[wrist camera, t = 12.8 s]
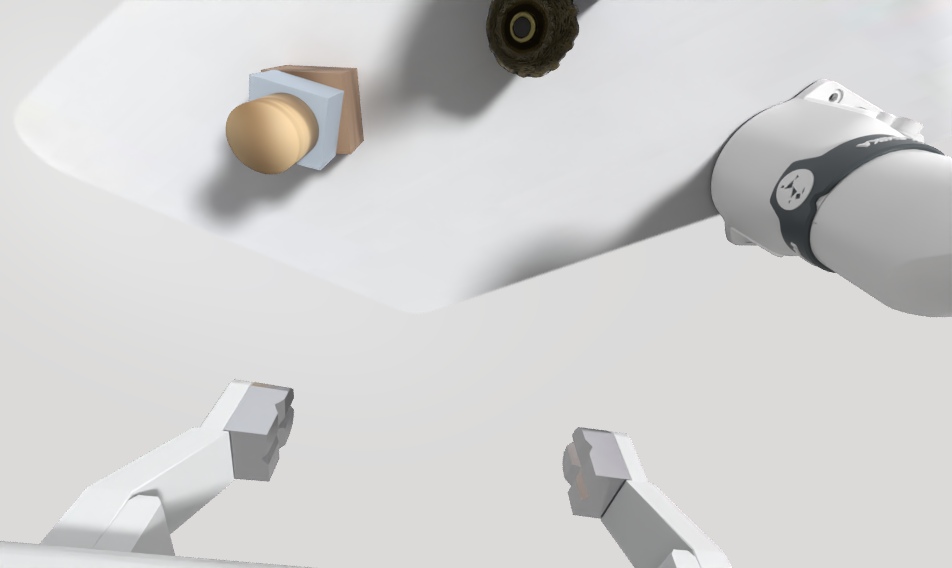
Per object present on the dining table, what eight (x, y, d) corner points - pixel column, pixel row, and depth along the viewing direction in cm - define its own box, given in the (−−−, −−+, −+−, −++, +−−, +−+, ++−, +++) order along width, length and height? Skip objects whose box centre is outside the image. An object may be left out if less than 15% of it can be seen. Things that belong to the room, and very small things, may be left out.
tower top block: (344, 90, 38) (328, 98, 34) (335, 155, 41) (320, 170, 36) (274, 69, 37) (249, 74, 33) (271, 137, 40) (247, 150, 36)
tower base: (357, 68, 42) (341, 73, 37) (363, 140, 46) (350, 154, 41) (286, 65, 42) (260, 69, 37) (298, 137, 46) (277, 151, 40)
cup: (521, 87, 43) (532, 97, 37) (467, 32, 41) (467, 32, 34) (576, 23, 41) (598, 21, 34) (521, -41, 38) (533, -57, 31)
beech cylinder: (316, 96, 33) (294, 106, 29) (321, 159, 36) (301, 177, 32) (251, 88, 33) (219, 98, 29) (260, 153, 36) (232, 170, 31)
